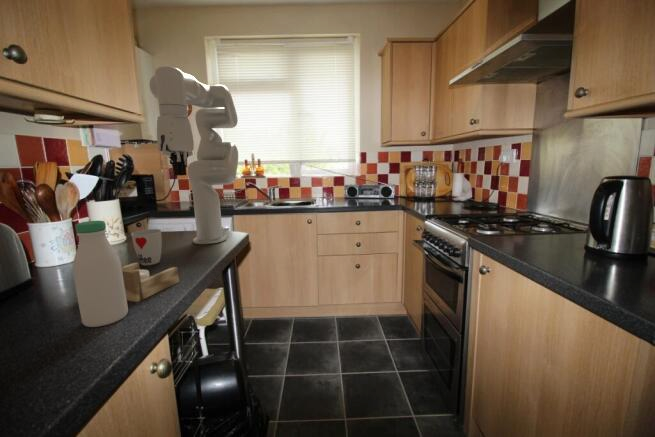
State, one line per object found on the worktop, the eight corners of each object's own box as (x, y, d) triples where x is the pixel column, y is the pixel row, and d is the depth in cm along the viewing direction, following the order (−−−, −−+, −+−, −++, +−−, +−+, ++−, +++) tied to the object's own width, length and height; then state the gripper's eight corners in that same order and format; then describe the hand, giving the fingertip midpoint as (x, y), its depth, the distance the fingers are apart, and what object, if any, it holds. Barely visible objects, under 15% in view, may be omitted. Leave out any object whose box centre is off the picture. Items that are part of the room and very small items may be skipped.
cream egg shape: (134, 283, 82) (132, 268, 81) (157, 284, 80) (155, 270, 80) (110, 294, 75) (108, 278, 74) (135, 295, 74) (133, 279, 73)
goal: (136, 276, 87) (133, 252, 85) (179, 281, 82) (176, 256, 80) (91, 294, 75) (86, 266, 74) (137, 302, 70) (133, 272, 69)
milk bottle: (132, 317, 63) (118, 221, 59) (85, 333, 58) (66, 228, 54) (123, 305, 69) (110, 217, 65) (80, 318, 63) (62, 222, 60)
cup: (130, 264, 97) (125, 233, 95) (154, 257, 104) (150, 228, 102) (146, 268, 93) (141, 236, 91) (170, 260, 100) (166, 230, 98)
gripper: (182, 116, 100) (188, 174, 104) (142, 110, 86) (150, 176, 90) (201, 115, 98) (207, 174, 101) (162, 108, 84) (170, 176, 87)
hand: (180, 175), depth 95 cm, fingers closed
